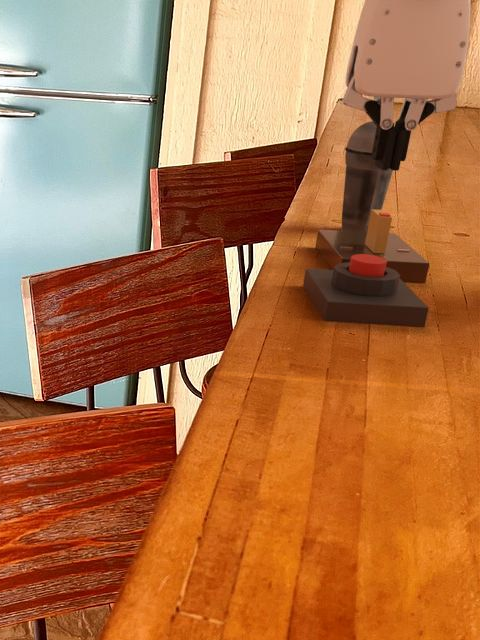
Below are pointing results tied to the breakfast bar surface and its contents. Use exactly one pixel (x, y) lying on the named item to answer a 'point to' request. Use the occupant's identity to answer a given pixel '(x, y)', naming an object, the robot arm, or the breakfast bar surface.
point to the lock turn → (378, 231)
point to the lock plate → (350, 243)
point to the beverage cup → (362, 180)
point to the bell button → (367, 265)
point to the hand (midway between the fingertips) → (386, 167)
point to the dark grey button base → (364, 297)
